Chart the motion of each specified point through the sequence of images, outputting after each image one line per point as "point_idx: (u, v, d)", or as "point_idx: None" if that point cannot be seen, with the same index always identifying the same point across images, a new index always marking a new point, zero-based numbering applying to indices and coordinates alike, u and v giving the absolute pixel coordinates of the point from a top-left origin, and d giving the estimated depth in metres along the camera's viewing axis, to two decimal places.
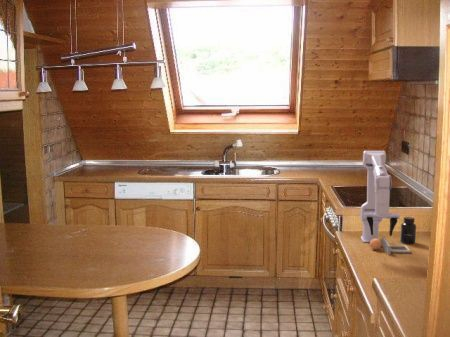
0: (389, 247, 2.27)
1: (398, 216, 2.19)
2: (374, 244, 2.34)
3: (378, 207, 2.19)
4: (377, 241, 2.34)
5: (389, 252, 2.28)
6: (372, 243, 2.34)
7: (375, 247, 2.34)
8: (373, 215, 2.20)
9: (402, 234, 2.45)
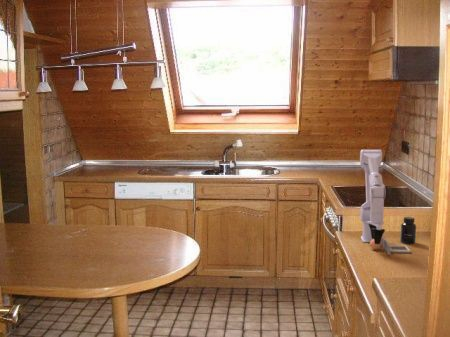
0: (389, 247, 2.27)
1: (376, 226, 2.28)
2: (374, 244, 2.34)
3: None
4: None
5: (389, 252, 2.28)
6: (372, 243, 2.34)
7: (375, 247, 2.34)
8: None
9: (402, 234, 2.45)
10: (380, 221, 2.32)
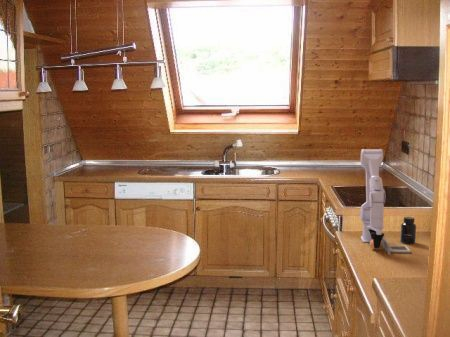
0: (389, 247, 2.27)
1: (376, 231, 2.29)
2: None
3: None
4: None
5: (389, 252, 2.28)
6: (372, 243, 2.34)
7: None
8: None
9: (402, 234, 2.45)
10: (380, 226, 2.32)
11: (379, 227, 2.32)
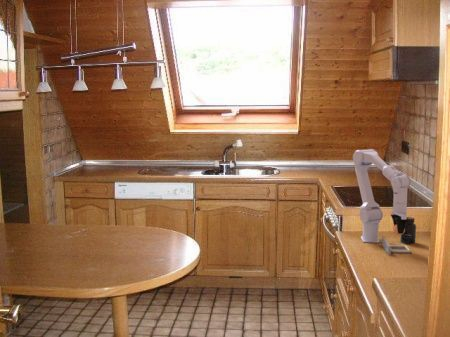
0: (389, 247, 2.27)
1: (401, 216, 2.26)
2: None
3: None
4: None
5: (389, 252, 2.28)
6: (396, 228, 2.32)
7: None
8: None
9: (402, 234, 2.45)
10: (404, 211, 2.30)
11: (403, 212, 2.30)
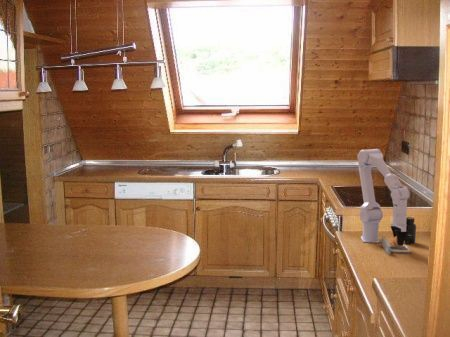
0: (389, 247, 2.27)
1: (401, 228, 2.27)
2: None
3: None
4: None
5: (389, 252, 2.28)
6: (395, 240, 2.33)
7: None
8: None
9: None
10: (403, 223, 2.31)
11: (403, 224, 2.31)
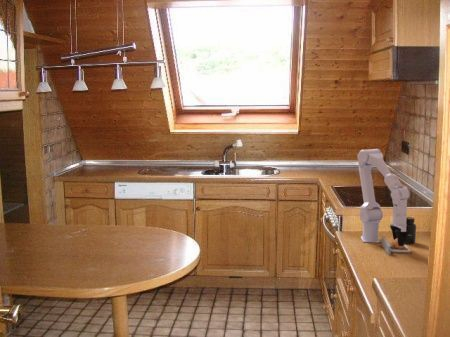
0: (389, 247, 2.27)
1: (401, 228, 2.27)
2: (397, 244, 2.33)
3: None
4: None
5: (389, 252, 2.28)
6: (395, 243, 2.33)
7: (398, 247, 2.33)
8: None
9: None
10: (403, 223, 2.31)
11: (403, 224, 2.31)
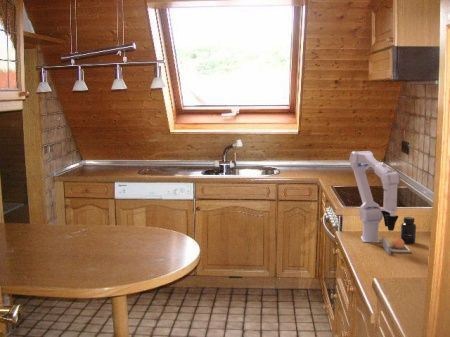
0: (389, 247, 2.27)
1: (390, 213, 2.29)
2: (397, 244, 2.33)
3: None
4: (400, 241, 2.33)
5: (389, 252, 2.28)
6: (395, 243, 2.33)
7: (398, 247, 2.33)
8: None
9: (402, 234, 2.45)
10: (393, 208, 2.32)
11: (393, 209, 2.32)
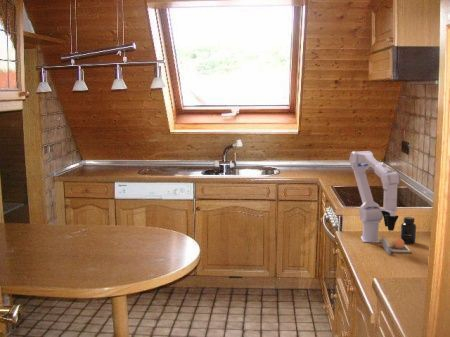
0: (389, 247, 2.27)
1: (390, 213, 2.29)
2: (397, 244, 2.33)
3: None
4: (400, 241, 2.33)
5: (389, 252, 2.28)
6: (395, 243, 2.33)
7: (398, 247, 2.33)
8: None
9: (402, 234, 2.45)
10: (393, 208, 2.32)
11: (393, 209, 2.32)
